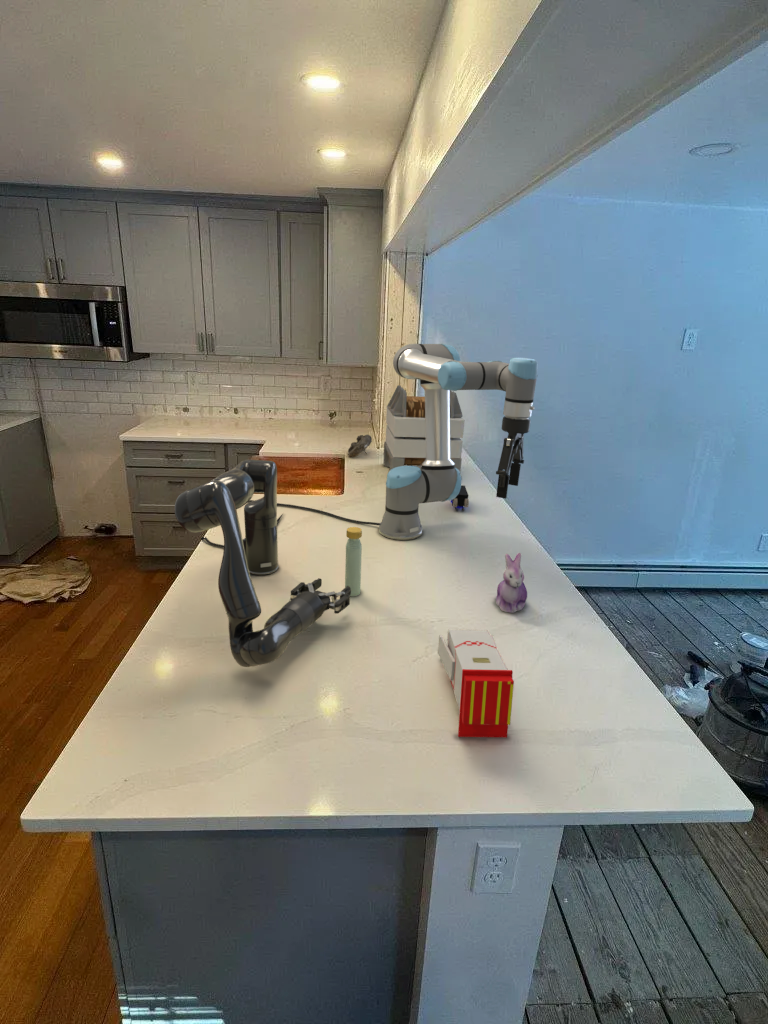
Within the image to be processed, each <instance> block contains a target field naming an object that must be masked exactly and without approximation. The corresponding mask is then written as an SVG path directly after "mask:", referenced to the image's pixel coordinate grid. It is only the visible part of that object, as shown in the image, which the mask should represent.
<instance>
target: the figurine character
mask: <svg viewBox="0 0 768 1024" xmlns="http://www.w3.org/2000/svg"><path fill="white" fill-rule="evenodd" d="M449 502H450V504H451V506H452V507H453V508H454V511H456V512H457V511H458V509H461V511H462V512H464V511H465V508H469V505H470V500H469V492H468V490H467V488H466V485H464V484H463V485H462V484H461V489H460V492H459V494H458V495H457V496H456V498H454V499H453V500H449Z"/></svg>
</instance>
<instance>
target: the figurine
mask: <svg viewBox="0 0 768 1024" xmlns="http://www.w3.org/2000/svg"><path fill="white" fill-rule="evenodd" d="M511 557H512V556H511V555H509V553H505V555H504V559H505V560H504V561H505V569H504V571H503V580H502V581H500V582H499V583H498V585H497V589H496V597H495V603H496V606H497V607H499V609H500V610H501V611H502V612H505V613H512V614H513V613H517V612H519V611H522V610H523V609H524V608H525V605H526V602H527V599H528V590H527V586H526V584H525V582H524V580H525V574H524V571H523V569H522V567H521V562H522V561H521V560H522V553H521V552H518V553H516V554H515V557H514V559H512V558H511Z"/></svg>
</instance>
